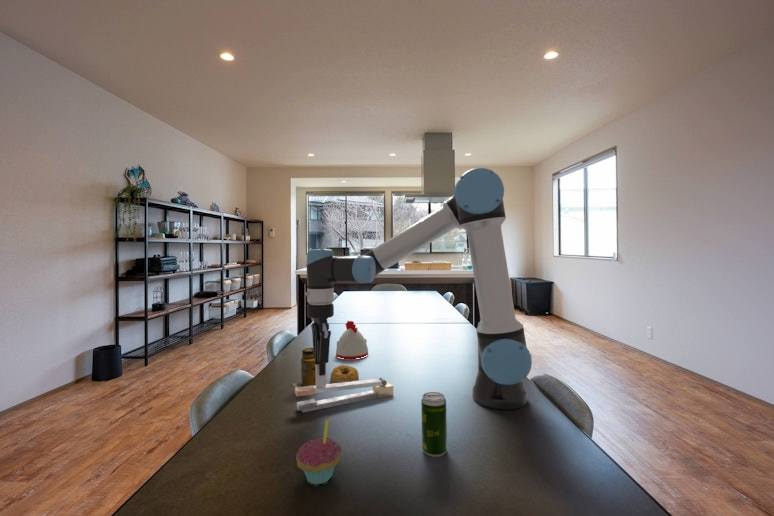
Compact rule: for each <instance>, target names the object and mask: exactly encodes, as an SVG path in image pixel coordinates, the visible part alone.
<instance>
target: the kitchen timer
mask: <svg viewBox="0 0 774 516" xmlns="http://www.w3.org/2000/svg"><path fill="white" fill-rule="evenodd" d="M344 325H345V328H346V330H345V331H344V332H343V333H342V334H341V336H340V337H339V340H337V341H336V350H335V357H336V356H337V357H340V358H344V359H356V358H361V357H364V356H366V355H368V356H369V348H368V344H367V343H368V341H367V338H365V337H364V335H363V334H362V333H361V332H360V330H358V329H359V328H358V327H356V324H355V323H354V321H352V320H347V321H346V323H345V324H344ZM337 357H336V358H337Z"/></svg>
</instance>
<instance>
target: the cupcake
mask: <svg viewBox="0 0 774 516" xmlns="http://www.w3.org/2000/svg"><path fill="white" fill-rule="evenodd" d="M329 417H330V415H329V416H327V419H325V423H324V430H323V437H318V438H313V439H310V440H308V441H307V442H305V443H303V444H302V445H301V446H300V447H299V449H298V450H297V453H296V456H295V457H296V458H295V460H296V465H297V467H298V468H299V469H300V470H302V471H303V473H304V475H305V478H306V480H307V481H306V482H307V483H309V482H310V483H314V484H317V483H323V482H326V481H328V480H329V479H330V478H331V477H332V478H333V474H334V470H335V468H336V466H337V465H338V463H339V462H340V461H341V458H342V457H341V456H342V447H341V446H340V445H339V444H338V443H337V441H335V440H333V439H331V438H328V431H329V424H330V419H329ZM332 478H331V479H332ZM310 483H309V484H310Z"/></svg>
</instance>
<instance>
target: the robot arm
mask: <svg viewBox="0 0 774 516" xmlns="http://www.w3.org/2000/svg"><path fill="white" fill-rule="evenodd" d="M453 192H454V194H453V195H452V196H451V197H448V199H446V200H445V201H443V204H442V206H441V207H440V208H438V209H436V210H435V211H433V212H432V213H429V214H428V215H426V216H425V217H423V218H421V219H420V220H419V221H416V222H415V223H413V224H412V225H410V226H408V227H407V228H405V229H403V230H402V231H401V232H398V233H397V234H395V235H394V236H392V237H391V238H389V239H388V240H385V241H384V242H382V243H380V244H379V245H378V246H376V247H374V248H373V249H371V250H369V251H367V252H366V253H364V254H363V255H342V256H339V255H334V251H333V249H331V248H328V249H327V248H322V249H320V248H319V249H318V248H316V249H315V248H314V249H309V250H308V251H307V253H306V264H305V266H306V291H305V292H304V295H305V296H306V302H307V303H308V304H307V305H306V316H307V318H308V319H313V322H312V324H311V325H310V327H311V333H312V335H311V338H312V348H313V357H314V358H315V365H316V386H317V387H320V386H326V384H327V364H328V363H329V358H330V357H329V356H330V341H331V335H332V331H331V330H330V324H329V323H328V319H329V318H332V317H333V316H334V313H335V311H334V308H335V307H334V303H333V302H334V301H335V287H334V285H335V284H334V283H350V284H353V283H354V284H357V283H359V284H365V283H366V284H367V283H373V282H374V279H375V277H377V276H378V275H379V274H381V273H382V272H384V271H385V270H387V269H388V268H390V267H392V266H394V265H396V264H398V263H399V262H400V261H403V260H404V259H405V258H407V257H409V256H411V255H412V254H414V253H416V252H417V251H419V250H421V249H422V248H424V247H426V246H427V245H429V244H431V243H432V242H434V241H436V240H438V239H439V238H441V237H443V236H445V235H446V234H448V233H449V232H451V231H453V230H455V229H458V230H462V229H463V230H464V231H465V232H466V233H467V241H468V245H469V254H470V259H471V267H472V272H473V273H472V274H473V280H474V286H475V291H476V297H477V304H478V310H479V317H480V321H479V322H478V324H477V327H476V335H477V363H478V365H477V367H478V368H477V370H478V372H477V374H476V378H475V382H474V385H473V387H472V399H473V400H474V401H475V402H476V403H478V404H479V405H482V406H484V407H487V408H490V409H497V410H517V409H520V408H522V407H523V408H524V406H526V405H527V403H528V401H527V400H528V399H527V392H526V390H525V388H524V384H523V381H524V380H525V379H526V378H527V377H528V375H529V374H530V373H531V371H532V370H531V369H532V354H531V353H530V350H529V349H528V347H527V341H526V336H525V329H524V324H523V323H521V322H520V321H519V320H518V319H517V318H516V312H515V305H514V300H513V293H512V288H511V282H510V273H509V269H508V262H507V257H506V251H505V244H504V237H503V232H502V224H504V222H505V221H506V219H507V217H506V210H505V204H504V195H505V187H504V183H503V181H502V178H501V176H499V175H498V174H497V173H496V172H495V171H493V170H492V169H489V168H485V167H476V168H471V169H469V170H467V171H465V172H464V173H463V174H462V175H461V176H460V177H459V178H458V180H457V182H456V184H455V186H454V191H453Z"/></svg>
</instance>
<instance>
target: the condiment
mask: <svg viewBox="0 0 774 516" xmlns="http://www.w3.org/2000/svg"><path fill="white" fill-rule="evenodd" d="M301 355H302V357H301V359H300V363H301V364H300V365H301V367H300V368H301V370H300V371H301V382H296V383H292V386H293V387H294V389H295V388H296V387H305V386H316V365H315V358H314V357H313V347H307V348H304V349H303V350H302V351H301ZM301 383H302V384H301Z"/></svg>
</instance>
